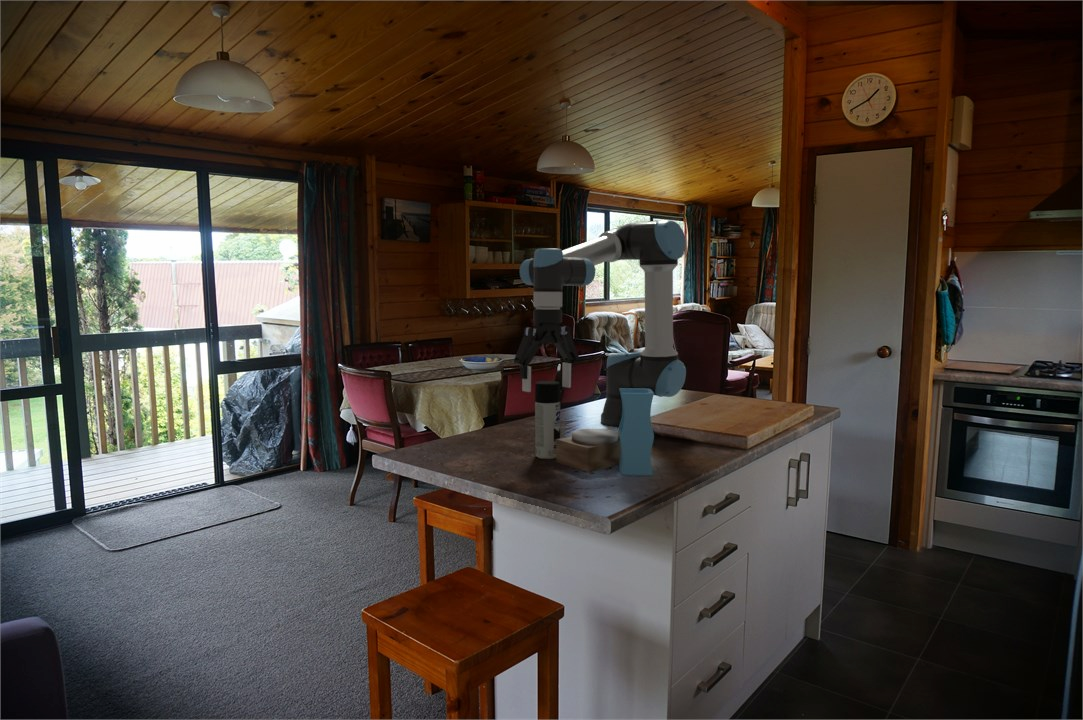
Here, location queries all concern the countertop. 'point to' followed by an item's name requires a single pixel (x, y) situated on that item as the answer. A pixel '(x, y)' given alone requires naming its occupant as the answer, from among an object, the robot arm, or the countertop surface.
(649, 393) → the vase
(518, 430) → the countertop surface
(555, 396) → the spray can
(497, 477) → the countertop surface
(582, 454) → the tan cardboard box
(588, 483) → the countertop surface
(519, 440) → the countertop surface
